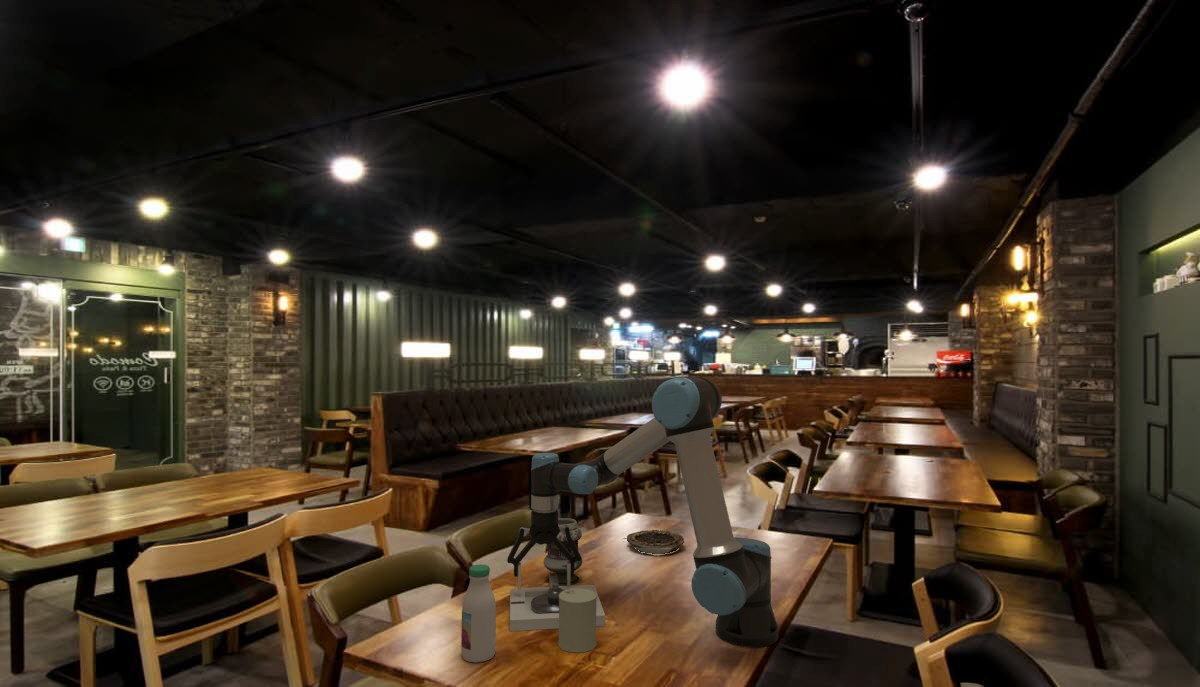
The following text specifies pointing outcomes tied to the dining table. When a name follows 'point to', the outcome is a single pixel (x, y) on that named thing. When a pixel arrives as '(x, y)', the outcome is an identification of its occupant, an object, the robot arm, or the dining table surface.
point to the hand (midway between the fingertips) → (544, 587)
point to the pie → (655, 541)
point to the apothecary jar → (557, 559)
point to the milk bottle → (478, 617)
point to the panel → (530, 620)
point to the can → (577, 620)
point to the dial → (548, 598)
